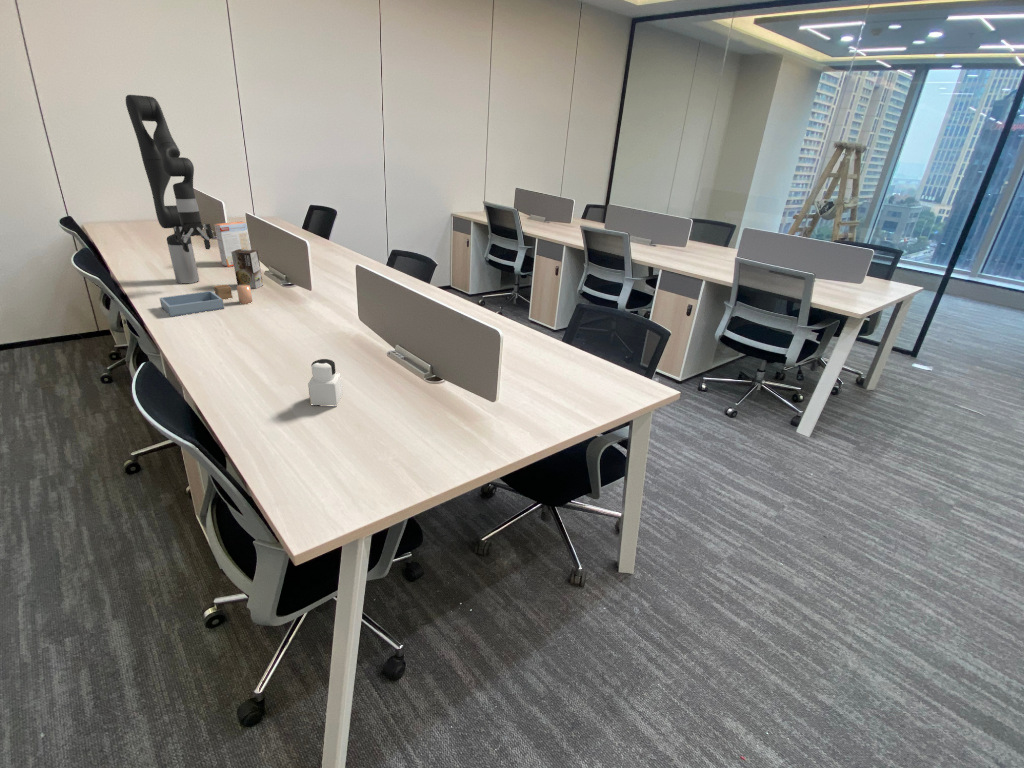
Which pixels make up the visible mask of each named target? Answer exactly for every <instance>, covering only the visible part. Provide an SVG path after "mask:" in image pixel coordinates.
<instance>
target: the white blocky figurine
mask: <svg viewBox="0 0 1024 768" xmlns="http://www.w3.org/2000/svg"><path fill="white" fill-rule="evenodd" d="M311 374H312V375H311V376H312V377H311V378H310V380H309V381H308V383H307V386H308V391H309V392H308V393H309V394H308V395H309V400H310V401H309V403H310V405H311V404H313V405H337V404H338V405H339V403H340V401H339V400H341V399H340V398H342V397H341V395H342V396H343V388H342V387H343V386H342V379H341V377H342V376H341V373H340V372H336V364H335V361H334V360H331V359H328V358H319V359H316V360H314V361H313V362H312V363H311ZM338 402H339V403H338ZM338 405H337V406H338Z"/></svg>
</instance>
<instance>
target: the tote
mask: <svg viewBox="0 0 1024 768" xmlns="http://www.w3.org/2000/svg"><path fill="white" fill-rule="evenodd" d="M159 303H160V306H161V309H162V310H163V311H165V313H167V314H168V315H169V317H171V318H174V317H175V316H176V317H180V316H181V315H182V316H187V315H186V314H188V315H193V314H192V313H195V314H198V313H199V312H201V313H206V312H205V311H207V312H211V311H212V312H213V310H214V311H219V309H220V310H224V309H225V306H224V300H222V299H221V298H220V297H219V296H217V295H216V294H215V292H213V291H212V290H207V291H201V292H193V293H187V294H178V295H172V296H171V295H170V296H164V297H159ZM199 314H200V313H199Z"/></svg>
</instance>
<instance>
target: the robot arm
mask: <svg viewBox="0 0 1024 768" xmlns="http://www.w3.org/2000/svg"><path fill="white" fill-rule="evenodd" d="M125 106H126V109H127V112H128V115H129V119H130V121H131V122H130V123H131V125H132V127H133V130H134V133H135V137H136V139H137V144H138V147H139V151H140V155H141V159H142V164H143V168H144V170H145V174H146V176H147V180H148V184H149V186H150V191H151V195H152V198H153V205H154V208H155V213H156V214H155V215H156V218H157V221H158V224H159V225H160V227H161V228H162V229H173V233H172V234H169V235H168V236H167V237H166V242H167V247H168V252H169V255H170V260H171V266H172V269H173V273H174V278H175V281H176V283H177V284H182V283H189V284H195V283H198V282H200V275H199V271H198V267H197V266H198V265H197V261H196V258H195V253H194V248H193V242H192V237H195V236H197V237H198V236H199V237H200V238H202V239H203V244H204V248H205V250H210V249H211V242H210V240H211V239H214V235H213V231H212V228H211V227H212V226H211V224H210V223H204V224H202V218H201V213H200V208H199V205H198V201H197V199H196V195H195V191H194V175H195V174H194V172H195V167H194V163H193V162H192V161H191V159H189V158H188V157H182V156H181V152H180V149H179V147H178V145H177V143H176V142H175V140H174V138H173V135H172V134H171V132H170V129H169V127H168V123H167V120H166V118H165V115H164V113H163V110H162V107H161V105H160V103H159V102H158V100H157V99H156V98H155V97H153V96H150V95H149V96H147V95H138V94H127V95H126V96H125ZM144 122H155V123H156V127H155V130H154V132H153V135H152V136H151V135H150V134H149V132H148V130H147V128H146V127H145V125H144ZM172 177H177V178H178V177H183V180H182V181H180V182H176V183H173V185H172V189H173V193H174V198H175V204H176V205H175V204H174V205H165V193H166V189H167V187H168V185H169V183H170V180H171V178H172ZM203 229H204V230H205V232H206V233H205V232H204V231H203ZM197 281H198V282H197ZM194 282H195V283H194Z"/></svg>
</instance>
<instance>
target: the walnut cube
mask: <svg viewBox="0 0 1024 768" xmlns="http://www.w3.org/2000/svg"><path fill="white" fill-rule="evenodd" d="M213 290H214V293H215V294H216V295H217V296H219V297H220V298H221V299H225V300H229V299H228V298H232V299H233V293H232V287H231V286H230V285H228V284H227V283H226V284H218V285H213Z"/></svg>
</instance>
